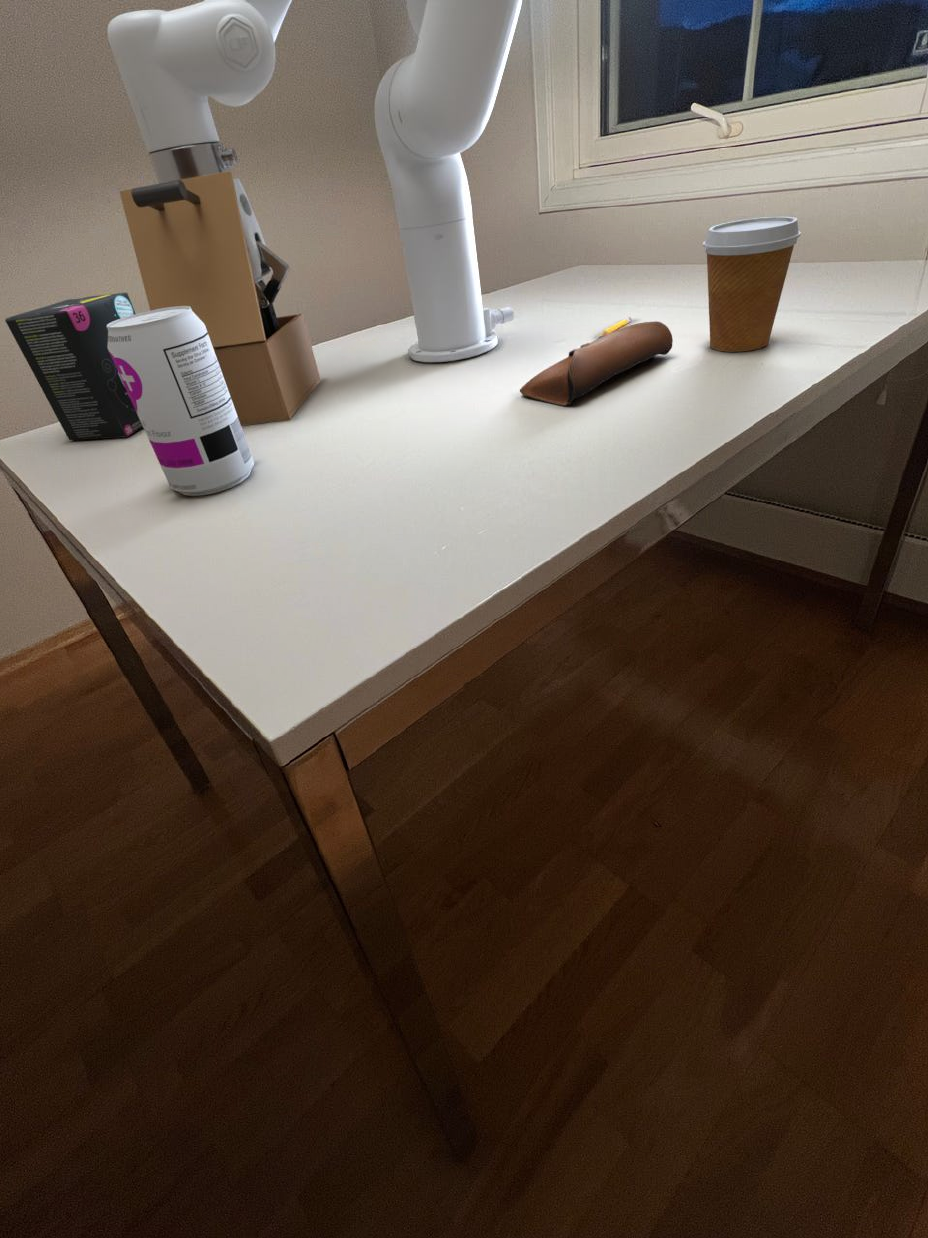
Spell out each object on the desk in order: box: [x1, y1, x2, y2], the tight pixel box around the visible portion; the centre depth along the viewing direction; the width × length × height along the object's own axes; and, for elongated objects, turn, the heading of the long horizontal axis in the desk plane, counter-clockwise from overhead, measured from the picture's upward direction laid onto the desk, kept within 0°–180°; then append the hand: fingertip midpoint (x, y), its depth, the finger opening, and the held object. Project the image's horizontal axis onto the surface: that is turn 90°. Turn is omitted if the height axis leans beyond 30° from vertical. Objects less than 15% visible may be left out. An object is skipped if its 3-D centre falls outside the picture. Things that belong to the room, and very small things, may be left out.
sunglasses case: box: [519, 321, 674, 407], centre depth 70 cm, size 18×7×7 cm, turn 134°
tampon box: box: [4, 292, 143, 441], centre depth 79 cm, size 11×9×15 cm
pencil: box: [598, 316, 632, 338], centre depth 86 cm, size 1×8×1 cm, turn 142°
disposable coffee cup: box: [702, 216, 802, 353], centre depth 70 cm, size 10×10×12 cm
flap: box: [119, 170, 266, 348], centre depth 65 cm, size 16×12×5 cm
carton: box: [213, 313, 322, 427], centre depth 79 cm, size 15×12×9 cm
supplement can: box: [107, 306, 255, 497], centre depth 58 cm, size 8×8×15 cm
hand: (248, 343), depth 79 cm, fingers open, 5 cm apart
